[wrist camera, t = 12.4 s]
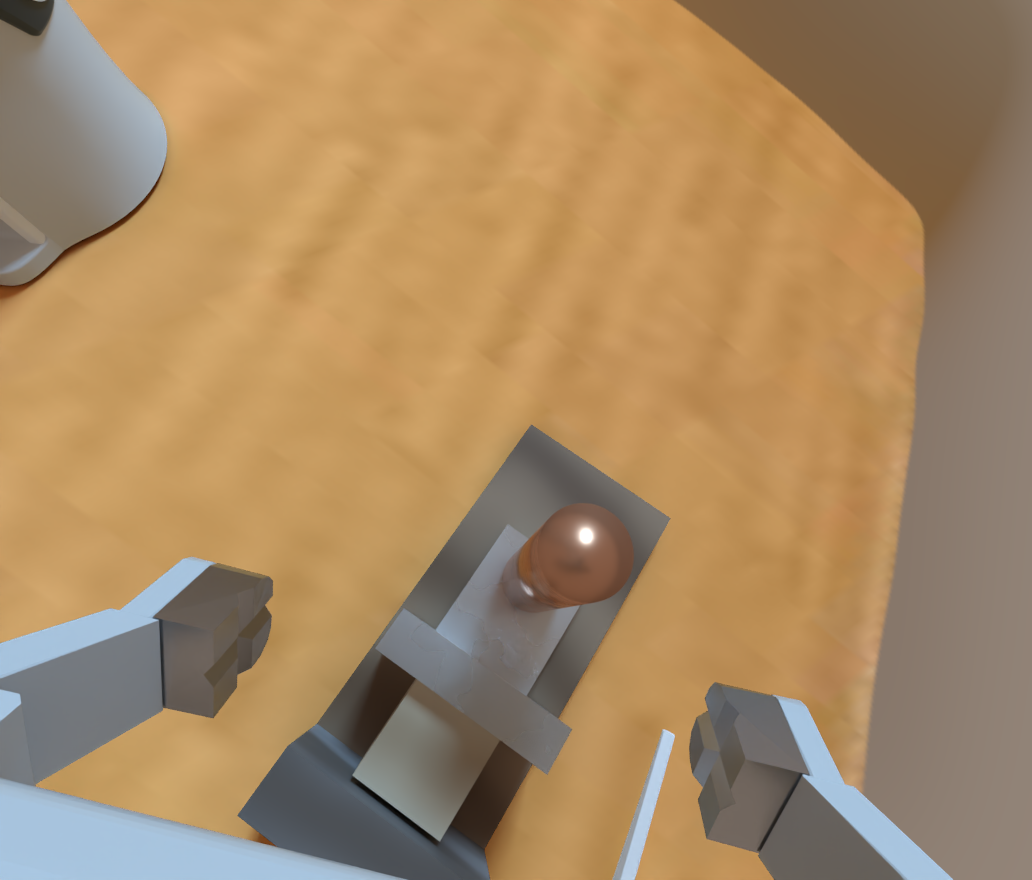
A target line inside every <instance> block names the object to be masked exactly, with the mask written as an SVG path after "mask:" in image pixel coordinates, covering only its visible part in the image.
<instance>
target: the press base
mask: <svg viewBox="0 0 1032 880" xmlns="http://www.w3.org/2000/svg"><path fill="white" fill-rule="evenodd" d="M577 503H589V504H594V505H598V506H600V507H603V508H605V509H607V510H608V511H610V512H611V513H613V514H614V515H615V516H616V517H617V518H618V519H619V520H620V521H621V522H622V523H623V524H624V526H625V528H626V529H627V531H628V533H629V535H630V538H631V541H632V544H633V550H634V562H633V567H632V571H631V574H630V576H629V578H628V580H627V582H626V583H625V585H624V586H623V587H622V588H621V590H620V591H618V592H617V593H616V594H615V595H613V596H612V597H610V598H608V599H606V600H603V601H600V602H595V603H589V604H584V605H580V606H579V608H578V610H577V612H576V613H575V615H574V617H573V618H572V620H571V622H570V623H569V625H568V627H567V628H566V630H565V632H564V634H563V635H562V637H561V639H560V640H559V642H558V644H557V645H556V647H555V649H554V650H553V652H552V654H551V655H550V657H549V659H548V661H547V662H546V664H545V666H544V667H543V669H542V671H541V672H540V674H539V676H538V677H537V679H536V681H535V683H534V684H533V686H532V688H531V689H530V691H529V693H528V694H527V696H528V697H529V698H530V699H532V700H533V701H535V702H536V703H537V704H539V705H540V706H542V707H543V708H544V709H546V710H547V711H549V712H550V713H551V714H553V715H554V716H555V717H556V718H559V716H560V714H561V712H562V710H563V709H564V707H565V705H566V703H567V702H568V700H569V698H570V696H571V694H572V693H573V691H574V689H575V687H576V686H577V684H578V682H579V680H580V678H581V677H582V675H583V673H584V671H585V670H586V668H587V666H588V664H589V662H590V661H591V659H592V657H593V655H594V654H595V652H596V650H597V648H598V646H599V645H600V643H601V641H602V639H603V638H604V636H605V634H606V632H607V630H608V629H609V627H610V625H611V623H612V622H613V620H614V618H615V616H616V614H617V613H618V611H619V609H620V607H621V606H622V604H623V602H624V600H625V598H626V597H627V595H628V593H629V591H630V590H631V588H632V586H633V584H634V582H635V581H636V579H637V577H638V575H639V574H640V572H641V570H642V568H643V566H644V565H645V563H646V561H647V559H648V558H649V556H650V554H651V552H652V550H653V549H654V547H655V545H656V543H657V542H658V540H659V538H660V536H661V534H662V533H663V531H664V529H665V527H666V526H667V524H668V522H669V520H670V518H669V517H668V516H666V515H665V514H663V513H662V512H660V511H659V510H657V509H656V508H654V507H653V506H651V505H650V504H648V503H647V502H645V501H644V500H643V499H641V498H640V497H638V496H637V495H635V494H634V493H632V492H631V491H629V490H628V489H626V488H625V487H623V486H622V485H620V484H619V483H617V482H616V481H614V480H613V479H611V478H610V477H608V476H607V475H605V474H604V473H602V472H601V471H599V470H598V469H596V468H595V467H594V466H592V465H591V464H589V463H588V462H586V461H585V460H583V459H582V458H580V457H579V456H577V455H576V454H574V453H573V452H571V451H570V450H568V449H567V448H565V447H564V446H562V445H561V444H559V443H558V442H556V441H555V440H553V439H552V438H550V437H549V436H547V435H546V434H545V433H543V432H542V431H540V430H539V429H537V428H536V427H534V426H533V425H531V426H530V427H529V429H528V430H527V431H526V433H525V434H524V436H523V437H522V438H521V440H520V441H519V443H518V444H517V445H516V447H515V448H514V450H513V451H512V452H511V454H510V455H509V457H508V458H507V459H506V461H505V462H504V464H503V465H502V466H501V468H500V469H499V471H498V472H497V473H496V475H495V476H494V478H493V479H492V480H491V482H490V483H489V484H488V486H487V487H486V489H485V490H484V491H483V493H482V494H481V496H480V497H479V498H478V500H477V501H476V503H475V504H474V505H473V507H472V508H471V510H470V511H469V512H468V514H467V515H466V517H465V518H464V519H463V521H462V522H461V524H460V525H459V526H458V528H457V529H456V531H455V532H454V533H453V535H452V536H451V538H450V539H449V540H448V542H447V543H446V544H445V546H444V547H443V549H442V550H441V551H440V553H439V554H438V556H437V557H436V558H435V560H434V561H433V563H432V564H431V565H430V567H429V568H428V570H427V571H426V572H425V574H424V575H423V577H422V578H421V579H420V581H419V582H418V584H417V585H416V586H415V588H414V589H413V591H412V592H411V593H410V595H409V596H408V598H407V599H406V600H405V602H404V603H403V604H402V606H401V607H400V609H399V610H398V611H397V613H396V614H395V616H394V617H393V618H392V620H391V621H390V623H389V624H388V625H387V627H386V628H385V630H384V631H383V632H382V634H381V635H380V637H379V638H378V639H377V641H376V642H375V644H374V645H373V646H372V648H371V649H370V651H369V652H368V653H367V655H366V656H365V658H364V659H363V660H362V662H361V663H360V664H359V666H358V667H357V669H356V670H355V671H354V673H353V674H352V676H351V677H350V678H349V680H348V681H347V683H346V684H345V685H344V687H343V688H342V690H341V691H340V692H339V694H338V695H337V697H336V698H335V699H334V701H333V702H332V704H331V705H330V706H329V708H328V709H327V711H326V712H325V713H324V715H323V716H322V718H321V719H320V720H319V722H318V723H317V724H316V725H315V726H313V727H312V728H311V729H309V730H308V731H307V732H306V733H304V734H303V735H302V736H300V737H299V738H298V739H296V740H295V741H294V742H292V743H291V744H290V745H289V746H287V748H286V749H285V751H284V752H283V753H282V755H281V756H280V757H279V759H278V760H277V762H276V763H275V764H274V766H273V767H272V768H271V770H270V771H269V773H268V774H267V775H266V777H265V778H264V779H263V781H262V782H261V784H260V785H259V786H258V788H257V789H256V791H255V792H254V793H253V795H252V796H251V797H250V799H249V800H248V802H247V803H246V804H245V806H244V807H243V808H242V810H241V811H240V813H239V814H238V815H237V816H239V817H240V818H241V819H242V820H244V821H245V822H246V823H248V824H249V825H250V826H251V827H253V828H254V829H255V830H257V831H258V832H259V833H260V834H262V835H263V836H264V837H266V838H267V839H268V840H269V841H271V842H272V843H273V844H274V845H276V846H277V847H279V848H283V849H287V850H291V851H295V852H299V853H303V854H307V855H311V856H315V857H319V858H323V859H327V860H331V861H335V862H339V863H343V864H347V865H351V866H355V867H359V868H363V869H367V870H371V871H375V872H378V873H382V874H386V875H390V876H394V877H398V878H402V879H406V880H490V877H489V872H488V866H487V861H486V856H485V851H484V849H485V847H486V845H487V844H488V842H489V840H490V838H491V837H492V835H493V833H494V831H495V829H496V828H497V826H498V824H499V822H500V821H501V819H502V817H503V815H504V813H505V812H506V810H507V808H508V806H509V805H510V803H511V801H512V799H513V797H514V796H515V794H516V792H517V790H518V789H519V787H520V785H521V783H522V782H523V780H524V778H525V776H526V774H527V773H528V771H529V769H530V767H531V766H532V763H531V762H529V761H528V760H527V759H525V758H524V757H522V756H521V755H520V754H518V753H517V752H516V751H514V750H513V749H512V748H510V747H509V746H507V745H506V744H505V743H503V742H502V741H501V740H500V741H499V742H498V744H497V746H496V748H495V749H494V751H493V753H492V754H491V756H490V758H489V759H488V761H487V763H486V764H485V766H484V768H483V769H482V771H481V773H480V775H479V776H478V778H477V780H476V781H475V783H474V785H473V786H472V788H471V790H470V791H469V793H468V795H467V796H466V798H465V800H464V802H463V803H462V805H461V807H460V808H459V810H458V812H457V813H456V815H455V817H454V818H453V820H452V822H451V824H450V825H449V827H448V829H447V830H446V832H445V834H444V835H443V837H442V839H441V840H440V841H438V840H437V839H436V838H434V837H433V836H432V835H430V834H429V833H428V832H426V831H425V830H424V829H423V828H421V827H420V826H419V825H417V824H416V823H415V822H413V821H412V820H411V819H409V818H408V817H407V816H405V815H404V814H403V813H401V812H400V811H399V810H397V809H396V808H395V807H393V806H392V805H391V804H389V803H388V802H387V801H386V800H384V799H383V798H382V797H380V796H379V795H378V794H376V793H375V792H374V791H372V790H371V789H370V788H368V787H367V786H366V785H364V784H363V783H362V782H360V781H359V780H358V779H356V778H355V777H354V776H353V773H354V772H355V770H356V768H357V767H358V765H359V763H360V762H361V760H362V758H363V757H364V755H365V753H366V752H367V750H368V749H369V747H370V746H371V744H372V743H373V741H374V740H375V739H376V737H377V736H378V734H379V733H380V731H381V730H382V728H383V727H384V725H385V724H386V722H387V721H388V719H389V718H390V716H391V715H392V713H393V712H394V710H395V709H396V707H397V706H398V704H399V703H400V701H401V700H402V698H403V697H404V695H405V694H406V692H407V691H408V689H409V688H410V686H411V685H412V683H413V682H414V681H415V679H416V678H415V677H413V676H412V675H410V674H409V673H408V672H406V671H405V670H404V669H402V668H401V667H399V666H398V665H397V664H395V663H394V662H393V661H391V660H390V659H389V658H387V657H386V656H384V655H383V654H382V653H380V652H379V651H378V650H376V649H375V648H376V646H377V645H378V644H379V642H380V641H381V639H382V638H383V637H384V635H385V634H386V632H387V631H388V630H389V628H390V627H391V625H392V624H393V623H394V621H395V620H396V618H397V617H398V616H399V614H400V613H401V611H402V610H403V609H404V608H405V609H406V610H408V611H410V612H411V613H413V614H414V615H415V616H417V617H418V618H419V619H421V620H422V621H424V622H425V623H426V624H428V625H429V626H431V627H432V628H433V629H435V630H436V629H437V627H438V626H439V624H440V623H441V621H442V620H443V618H444V617H445V615H446V614H447V612H448V611H449V610H450V608H451V607H452V605H453V604H454V602H455V601H456V599H457V598H458V596H459V595H460V593H461V592H462V590H463V589H464V588H465V586H466V585H467V583H468V582H469V580H470V579H471V577H472V576H473V574H474V573H475V571H476V570H477V568H478V567H479V566H480V564H481V563H482V561H483V560H484V558H485V557H486V555H487V554H488V552H489V551H490V549H491V548H492V546H493V545H494V544H495V542H496V541H497V539H498V538H499V536H500V535H501V533H502V532H503V530H504V529H505V527H506V526H507V524H508V525H510V526H511V527H513V528H514V529H515V530H517V531H518V532H520V533H521V534H523V535H524V536H526V537H527V538H528V539H529V538H530V537H531V536H532V535H533V534H534V533H535V532H536V531H537V530H538V529H539V528H540V527H541V526H542V525H543V524H544V523H545V522H546V521H547V520H548V519H549V518H550V517H551V516H552V515H553V514H554V513H555V512H557V511H558V510H560V509H561V508H563V507H566V506H568V505H572V504H577Z"/></svg>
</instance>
